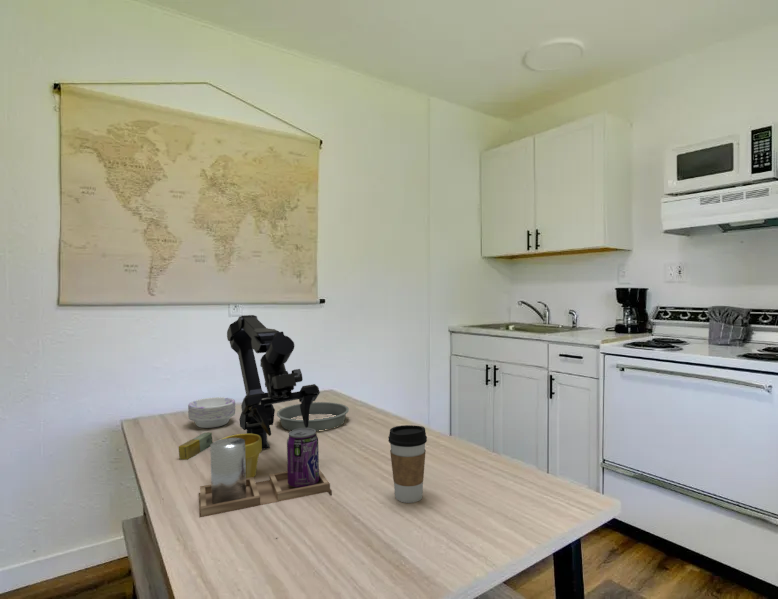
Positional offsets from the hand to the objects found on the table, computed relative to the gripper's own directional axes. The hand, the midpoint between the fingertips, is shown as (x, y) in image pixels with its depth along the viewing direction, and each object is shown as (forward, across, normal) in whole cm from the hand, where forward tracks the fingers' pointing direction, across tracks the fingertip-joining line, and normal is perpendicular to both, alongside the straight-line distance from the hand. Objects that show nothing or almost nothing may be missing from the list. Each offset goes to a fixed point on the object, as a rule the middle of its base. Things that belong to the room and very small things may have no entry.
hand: (289, 431), depth 110 cm
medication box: (-10, -18, +33) cm, 38 cm away
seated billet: (+11, -16, +1) cm, 19 cm away
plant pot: (+6, -11, +11) cm, 17 cm away
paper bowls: (-25, -9, +54) cm, 60 cm away
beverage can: (+13, 0, 0) cm, 13 cm away
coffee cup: (+24, +18, -13) cm, 33 cm away
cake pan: (-14, +21, +41) cm, 48 cm away
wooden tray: (+13, -8, +1) cm, 15 cm away
